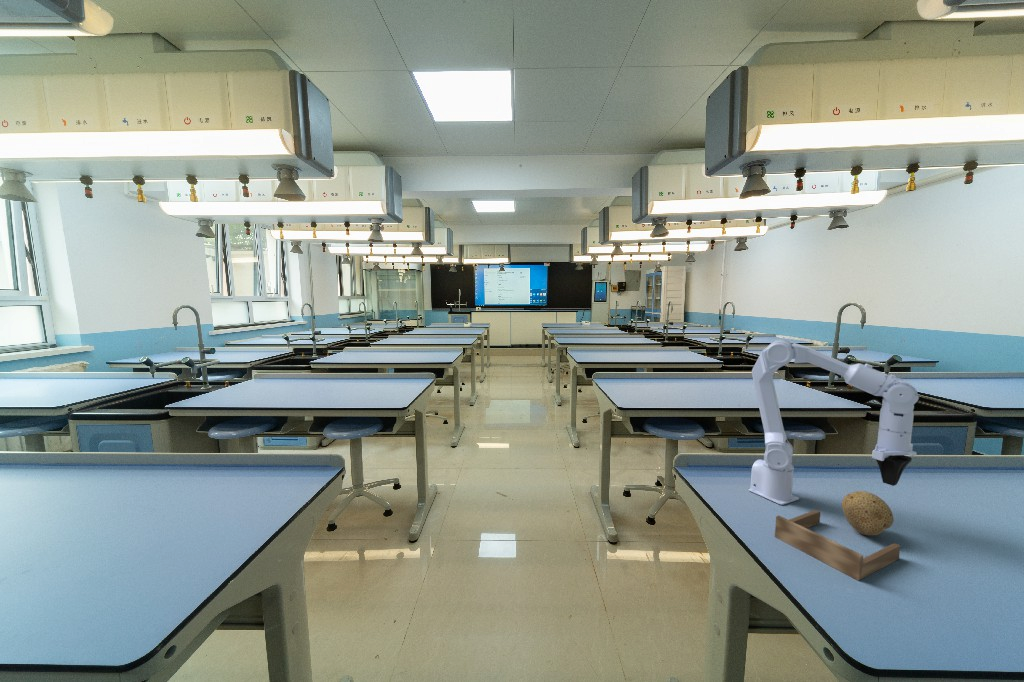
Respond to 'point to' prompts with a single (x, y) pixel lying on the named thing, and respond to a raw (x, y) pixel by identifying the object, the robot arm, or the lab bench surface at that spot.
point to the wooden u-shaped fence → (831, 547)
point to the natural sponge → (867, 513)
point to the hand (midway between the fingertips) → (889, 483)
